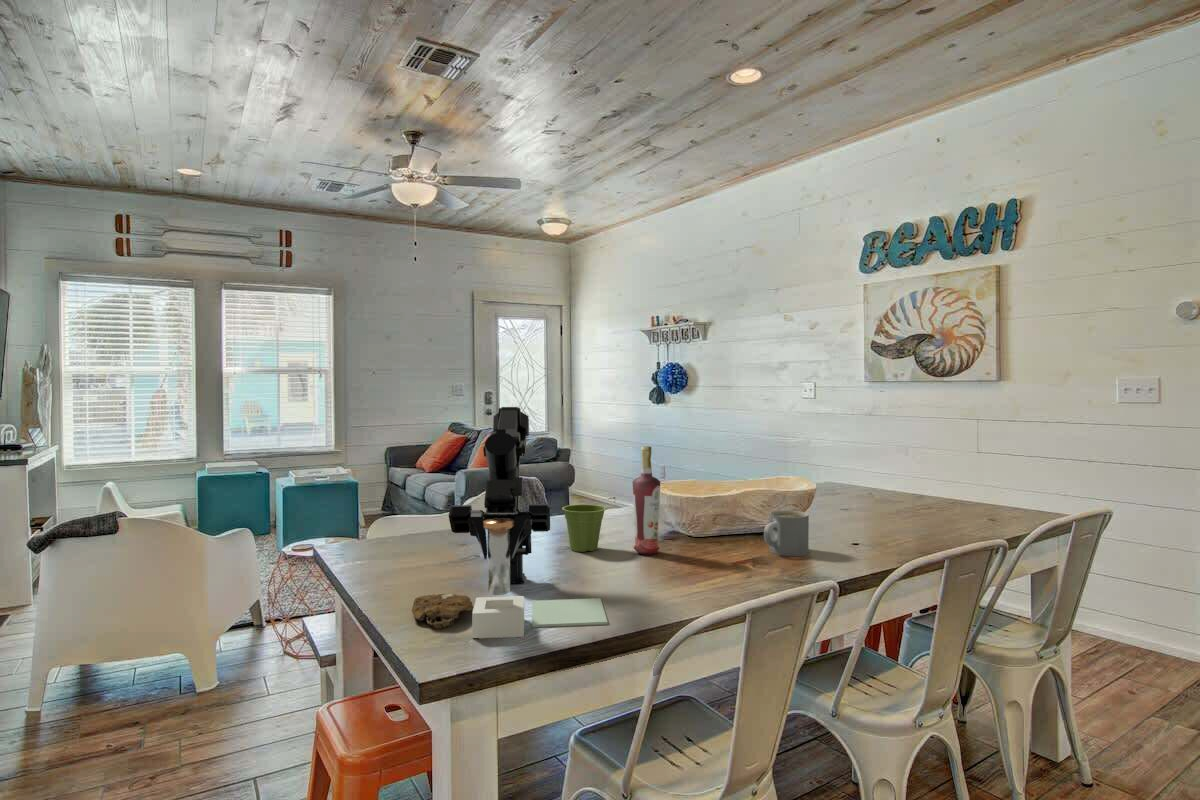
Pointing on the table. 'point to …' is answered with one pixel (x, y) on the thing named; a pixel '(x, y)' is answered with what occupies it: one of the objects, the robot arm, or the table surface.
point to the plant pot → (584, 526)
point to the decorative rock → (440, 608)
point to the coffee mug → (787, 533)
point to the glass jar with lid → (498, 554)
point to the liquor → (646, 507)
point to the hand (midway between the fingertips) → (498, 557)
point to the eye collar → (498, 617)
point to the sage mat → (568, 612)
